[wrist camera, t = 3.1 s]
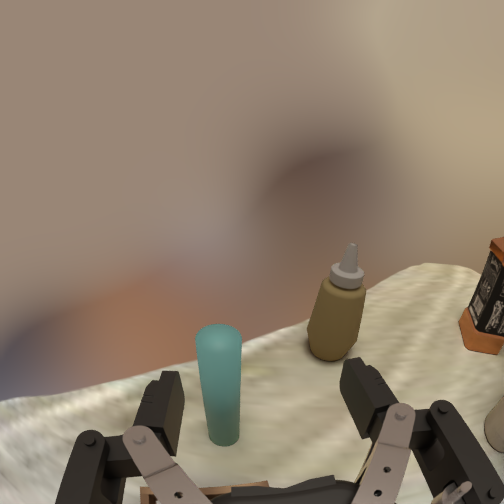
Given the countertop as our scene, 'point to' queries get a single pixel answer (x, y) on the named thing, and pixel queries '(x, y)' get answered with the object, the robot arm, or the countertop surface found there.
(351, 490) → the robot arm
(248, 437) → the countertop surface
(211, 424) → the dowel
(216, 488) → the tray
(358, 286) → the squeeze bottle
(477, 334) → the whiskey bottle
